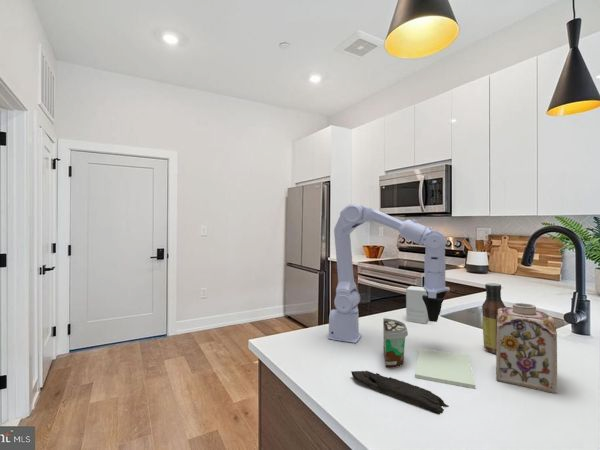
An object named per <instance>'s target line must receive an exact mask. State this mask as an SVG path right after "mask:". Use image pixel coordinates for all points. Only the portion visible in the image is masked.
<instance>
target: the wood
mask: <svg viewBox="0 0 600 450" xmlns="http://www.w3.org/2000/svg"><path fill="white" fill-rule="evenodd" d="M350 373H351V375H352V377H353V378H354V379H357V380H359V381H360V382H363V383H364V384H366V385H367V386H370V387H371V388H372V389H374V390H375V391H377V392H379V393H381V394H385V395H388V396H392V397H393V398H396V399H399V400H401V401H403V400H404V402H406V403H408V402H409V404H410V405H413V404H414V406H416V407H419V408H422V409H424V410H426V411H428V410H429V411H428V412H431V413H434V414H437V415H440V413H441V414H443V413H444V410H445V409H444V408H446V407H447V408H448V407H450V406H449V405H448V404H446V403H445V401H444V400H443V399H442V398H441V397H440V396H438V395H437V394H435V393H433V392H432V391H431V390H429V389H426V388H423V387H421V386H417V385H414V384H411V383H409V382H406V381H403V380H399V379H397V378H393V377H391V376H390V377H388V376H384V375H381V374H379V373H378V372H376V373H374V372H373V371H372V372H371V371H368V370H361V371H360V370H356V371H354V370H352V371H350ZM442 406H443V407H442ZM444 406H445V407H444Z"/></svg>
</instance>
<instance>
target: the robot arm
mask: <svg viewBox="0 0 600 450" xmlns="http://www.w3.org/2000/svg"><path fill="white" fill-rule="evenodd" d="M367 222H375V223H379V224H381V225H383V226H385V227H388V228H390V229H393V230H396V231H398V232H399V235H400V237H402V238H404V239H406V240H408V241H410V242H412V243H415V244H417V245H419V246H421V245H423V246H424V247H425V250H424V251H425V255H424V264H423V265H424V276H423V277H424V278H423V279H424V283H423V287H424V289H425V290H426V292H427V295H428V296H426V295H423V296H422V299H423V301H424V303H425V305H426V308H427V313H428V318H429V320H428V321H429V322H434V323H437V322H438V320H439V316H440V314H441V311H442V305H443V302H444V299H445V297H446V294H447V292H450V291H451V289H450V286H449V287H448V286H446V249H445V246H446V243H447V240H446V236H445V235H444V233H442V232H441V231H439V230H438V229H437V230H435V229H434V230H433V227H432V226H425V225H423V224H421V223H418V220H416V219H415V218H413V219H412V220H411V219H407V220H404V221H402V220H400V219H398V218H395V217H393V216H391V215H389V214H387V213H385V212H382V211H381V210H378V209H376V208H372V207H371V208H370V207H367V206H364V205H358V204H356V203H350V204H348V205H346V206H345V207H343V208H342V210H341V211H340V213H339V217H338V220H337V222H336V223H335V225H334V229H333V234H334V245H335V256H336V269H337V285H336V288H335V293H336V294H335V297H334V300H333V303H334V307H335V308H334V309H331V310H330V312H329V316H328V338H327V339H328V340H334V341H340V342H346V343H352V344H353V343H354V344H357V343H358V342H359V340H360V339H361V337H363V334H362V333H360V331H359V330H360V329H359V325H360V323H359V316H360V315H359V312H360V311H359V308H358V305H359V303H360V302H361V295H360V293H359V290H358V289H357V284H356V282H355V278H354V276H355V275H354V268H353V267H354V266H353V255H352V242H351V241H352V240H351V234H352V233H353V231H354V230H355V229H357V228H358V227H359V226H361V225H363V224H364V223H367Z"/></svg>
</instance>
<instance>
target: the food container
mask: <svg viewBox="0 0 600 450" xmlns="http://www.w3.org/2000/svg"><path fill="white" fill-rule="evenodd" d="M382 323H383V326H382V327H383V333H382V334H383V359H384V365H385V368H387V369H388V368H389V369H390V368H392V369H393V367H394V368H398V366H399V367H401V366H402V365H403V364H404V361H405V359H404V358H405V345H406V337H407V336H408V327H407V326H406V324H405V323H404V322H402V321H399V320H397V319H392V318H386V317H385V318H383V322H382ZM400 365H401V366H400Z"/></svg>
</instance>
